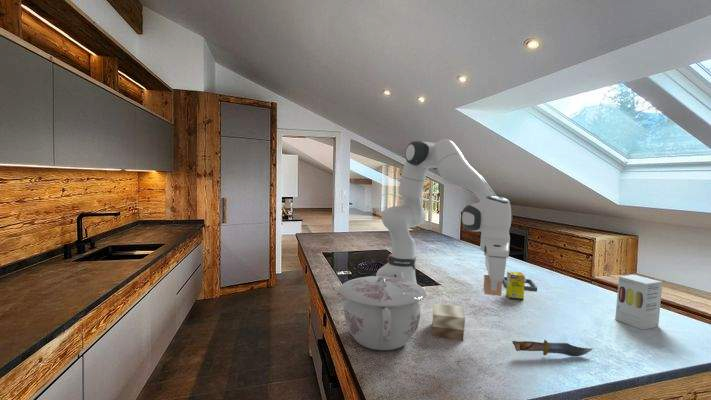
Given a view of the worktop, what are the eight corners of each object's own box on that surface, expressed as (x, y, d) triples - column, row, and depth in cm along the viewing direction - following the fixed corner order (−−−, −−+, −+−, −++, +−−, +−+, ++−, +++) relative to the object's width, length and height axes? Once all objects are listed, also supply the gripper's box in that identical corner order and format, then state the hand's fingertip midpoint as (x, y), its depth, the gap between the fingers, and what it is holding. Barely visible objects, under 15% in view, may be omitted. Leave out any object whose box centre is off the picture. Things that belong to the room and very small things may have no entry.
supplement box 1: (523, 300, 143) (525, 275, 143) (509, 299, 145) (510, 274, 144) (519, 295, 149) (521, 272, 148) (505, 294, 150) (506, 271, 150)
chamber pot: (372, 314, 126) (373, 261, 124) (439, 337, 108) (441, 275, 107) (319, 342, 104) (319, 277, 103) (392, 376, 87) (394, 299, 85)
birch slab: (432, 326, 109) (432, 314, 109) (432, 314, 118) (433, 303, 118) (464, 330, 106) (464, 318, 106) (462, 317, 116) (462, 306, 116)
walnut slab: (431, 337, 109) (431, 326, 109) (432, 324, 119) (433, 314, 119) (463, 342, 107) (463, 330, 106) (461, 328, 116) (462, 317, 116)
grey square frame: (505, 287, 160) (505, 284, 160) (501, 279, 173) (502, 276, 173) (537, 290, 156) (537, 287, 156) (530, 282, 169) (530, 279, 169)
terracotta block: (484, 294, 108) (485, 279, 108) (483, 289, 113) (484, 274, 113) (501, 295, 107) (502, 280, 106) (499, 290, 112) (500, 276, 111)
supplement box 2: (614, 319, 125) (617, 275, 124) (629, 316, 128) (633, 273, 127) (643, 330, 116) (647, 283, 115) (659, 326, 120) (663, 281, 118)
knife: (591, 355, 99) (592, 339, 99) (594, 357, 98) (595, 341, 97) (510, 355, 98) (511, 338, 98) (512, 357, 97) (513, 341, 97)
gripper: (482, 239, 119) (480, 276, 121) (487, 251, 100) (484, 295, 101) (500, 240, 118) (498, 278, 119) (510, 253, 98) (507, 298, 99)
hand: (492, 286), depth 110 cm, fingers closed on terracotta block, 5 cm apart
